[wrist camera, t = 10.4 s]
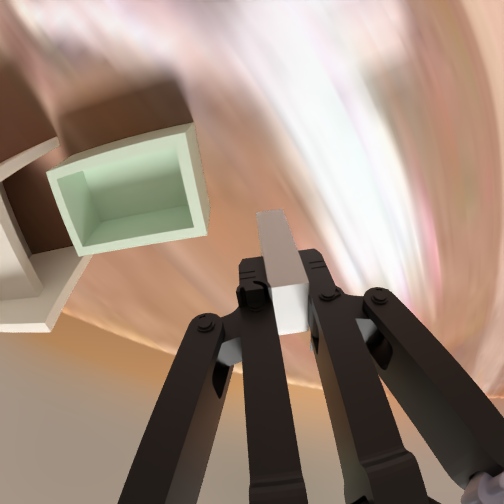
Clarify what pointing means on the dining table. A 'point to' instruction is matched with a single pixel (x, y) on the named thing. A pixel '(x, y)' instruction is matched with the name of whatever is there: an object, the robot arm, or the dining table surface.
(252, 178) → the dining table surface
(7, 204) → the box
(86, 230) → the tray
